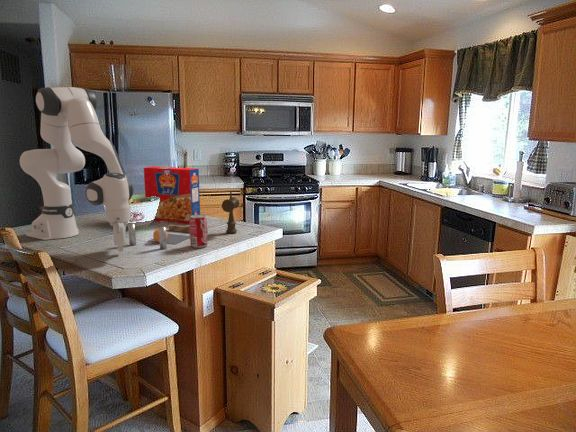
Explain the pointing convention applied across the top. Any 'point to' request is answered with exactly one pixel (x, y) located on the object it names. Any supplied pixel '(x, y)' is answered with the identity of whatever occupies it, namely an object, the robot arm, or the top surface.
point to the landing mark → (173, 239)
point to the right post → (162, 237)
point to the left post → (132, 234)
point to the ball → (157, 235)
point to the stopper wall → (179, 228)
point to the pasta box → (173, 192)
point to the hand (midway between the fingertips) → (121, 250)
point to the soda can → (198, 231)
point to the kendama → (230, 212)
